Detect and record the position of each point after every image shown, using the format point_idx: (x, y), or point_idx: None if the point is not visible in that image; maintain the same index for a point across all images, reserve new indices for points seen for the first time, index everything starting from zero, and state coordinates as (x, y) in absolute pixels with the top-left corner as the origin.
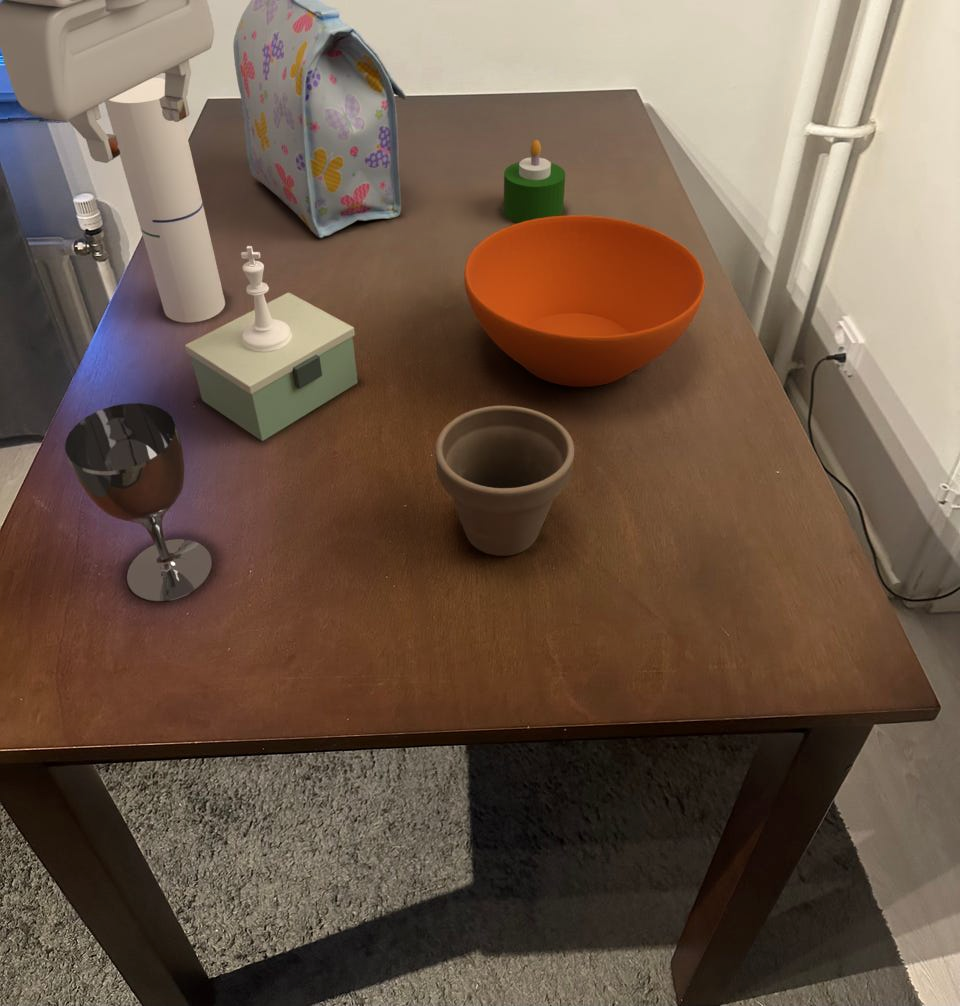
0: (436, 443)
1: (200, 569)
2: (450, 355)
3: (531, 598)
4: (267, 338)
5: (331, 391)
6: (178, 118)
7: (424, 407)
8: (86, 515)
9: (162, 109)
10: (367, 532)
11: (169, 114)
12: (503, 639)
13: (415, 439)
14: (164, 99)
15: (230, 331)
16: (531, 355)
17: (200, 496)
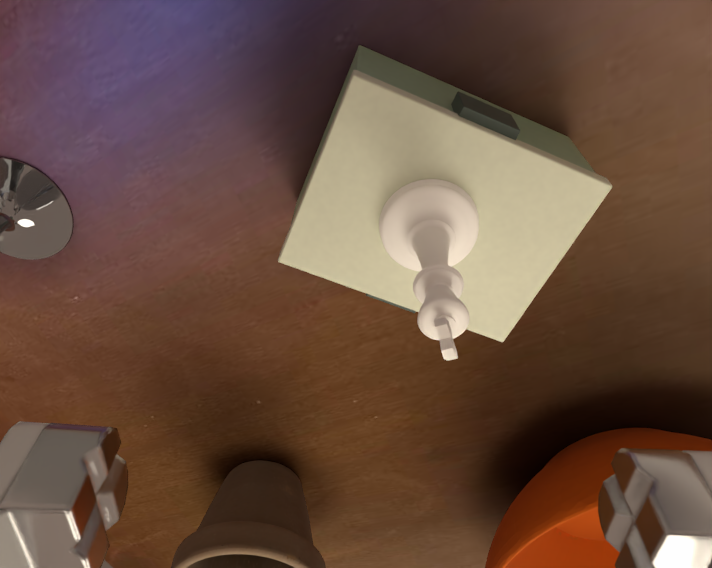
0: (217, 550)
1: (36, 250)
2: (584, 363)
3: (196, 516)
4: (400, 251)
5: None
6: (603, 516)
7: (448, 368)
8: (14, 24)
9: (647, 481)
10: (199, 382)
11: (623, 493)
12: (141, 508)
13: (378, 378)
14: (658, 559)
15: (431, 144)
16: (495, 534)
17: (148, 175)
